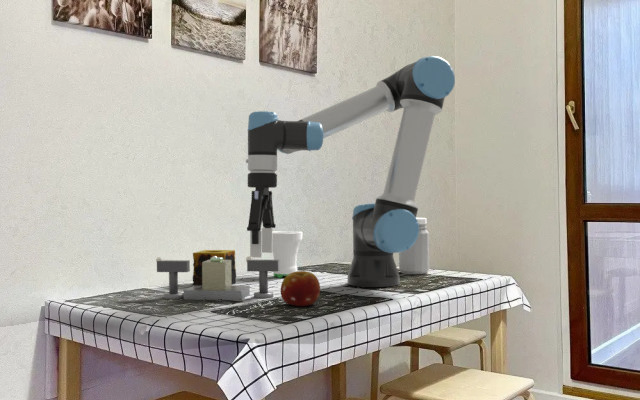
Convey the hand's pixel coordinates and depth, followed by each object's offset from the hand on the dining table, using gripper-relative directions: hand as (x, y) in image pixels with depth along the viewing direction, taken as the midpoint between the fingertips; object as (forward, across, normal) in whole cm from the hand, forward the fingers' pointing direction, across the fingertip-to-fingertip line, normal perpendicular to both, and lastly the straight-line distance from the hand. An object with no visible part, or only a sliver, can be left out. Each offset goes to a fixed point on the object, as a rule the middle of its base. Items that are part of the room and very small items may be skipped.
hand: (261, 255), depth 174 cm
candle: (+11, -21, -18) cm, 30 cm away
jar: (+10, -53, +40) cm, 67 cm away
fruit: (+11, +11, +12) cm, 20 cm away
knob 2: (+11, 0, 0) cm, 11 cm away
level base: (+11, +1, -12) cm, 16 cm away
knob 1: (+11, +3, -22) cm, 25 cm away
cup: (+11, -41, -1) cm, 43 cm away
